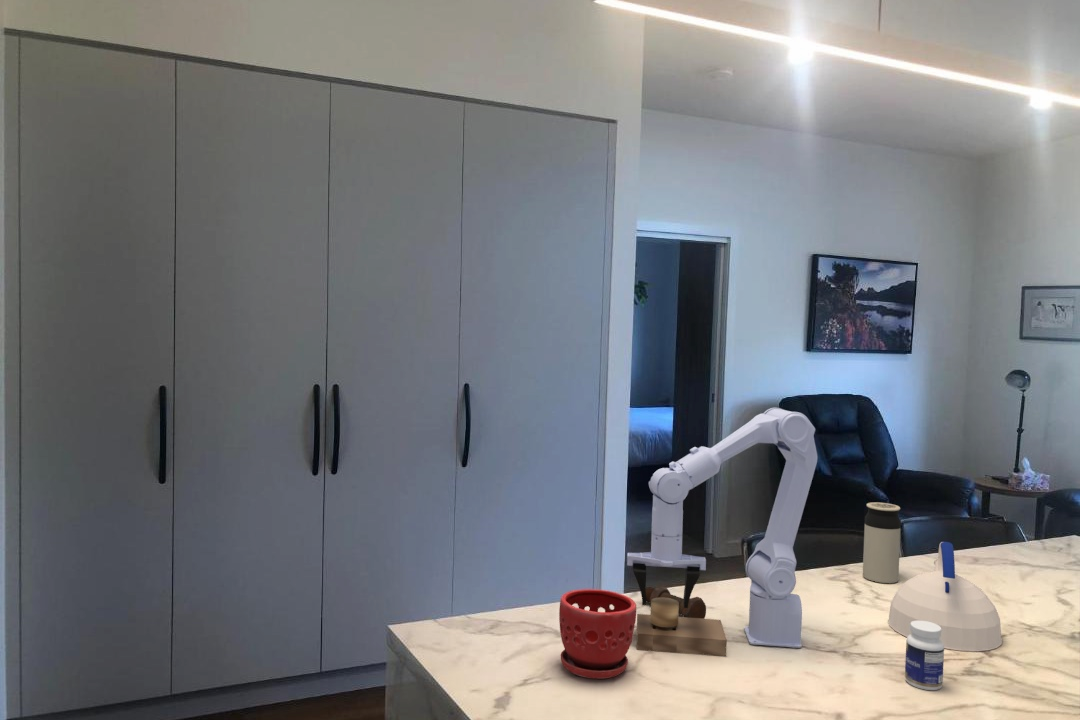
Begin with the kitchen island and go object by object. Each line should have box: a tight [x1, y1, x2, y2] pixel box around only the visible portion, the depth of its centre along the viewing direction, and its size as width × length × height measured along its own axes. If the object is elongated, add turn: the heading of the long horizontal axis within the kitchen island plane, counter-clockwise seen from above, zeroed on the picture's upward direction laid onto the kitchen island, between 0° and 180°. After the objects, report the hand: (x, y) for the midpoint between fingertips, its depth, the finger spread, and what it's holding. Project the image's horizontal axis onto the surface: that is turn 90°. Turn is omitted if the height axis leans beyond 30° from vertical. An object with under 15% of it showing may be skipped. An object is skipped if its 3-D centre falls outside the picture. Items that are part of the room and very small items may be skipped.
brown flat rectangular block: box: [636, 613, 727, 657], centre depth 144 cm, size 16×10×3 cm, turn 83°
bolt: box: [646, 586, 707, 619], centre depth 159 cm, size 6×5×15 cm
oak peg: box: [649, 597, 680, 630], centre depth 144 cm, size 5×5×8 cm
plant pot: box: [558, 588, 637, 680], centre depth 131 cm, size 13×13×12 cm
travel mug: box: [862, 501, 902, 584], centre depth 186 cm, size 8×8×18 cm
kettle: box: [887, 541, 1003, 653], centre depth 153 cm, size 20×21×18 cm
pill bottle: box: [904, 621, 945, 691], centre depth 129 cm, size 6×6×10 cm
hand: (664, 604), depth 144 cm, fingers open, 7 cm apart
